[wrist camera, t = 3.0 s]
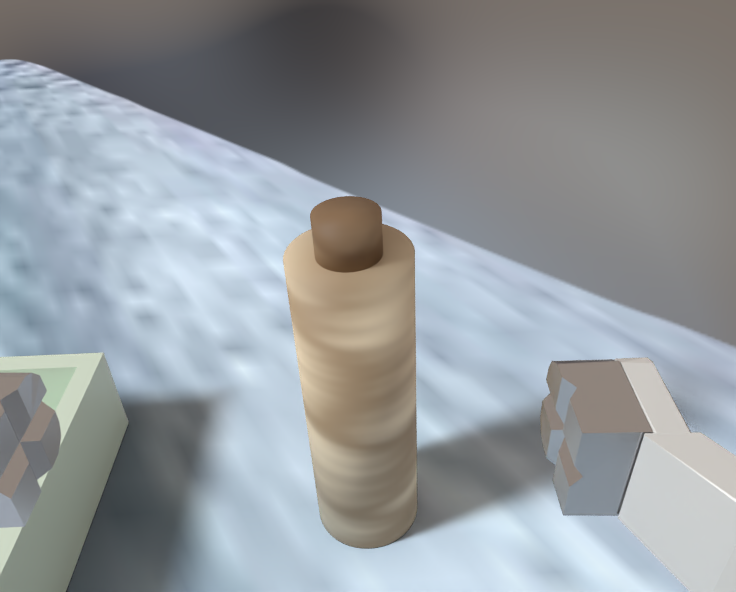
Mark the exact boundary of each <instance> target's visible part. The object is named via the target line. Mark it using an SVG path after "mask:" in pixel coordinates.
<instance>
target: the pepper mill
mask: <svg viewBox="0 0 736 592" xmlns="http://www.w3.org/2000/svg"><path fill="white" fill-rule="evenodd" d="M310 219H311V228H312V229H311V230H308V231H306V232H304V233H303V234H301V235H299V236H298V237H297V238H295V239H294V240H293V241H292V242H291V243H290V244H289V246H288V247H287V249H286V250H285V253H284V256H283V263H284V270H285V277H286V284H287V291H288V298H289V305H290V312H291V318H292V325H293V332H294V339H295V346H296V353H297V360H298V367H299V374H300V381H301V387H302V394H303V401H304V408H305V415H306V422H307V429H308V436H309V443H310V450H311V457H312V463H313V470H314V477H315V484H316V491H317V498H318V505H319V512H320V517H321V520H322V523H323V525H324V527H325V529H326V530H327V531H328V533H330V534H331V535H332V536H333V537H334V538H335V539H336V540H338V541H340V542H341V543H343V544H346V545H348V546H352V547H356V548H368V549H369V548H377V547H382V546H385V545H388V544H390V543H392V542H394V541H396V540H397V539H399V538H400V537H402V536H403V535H404V534H405V533H406V532H407V531H408V530H409V528H410V527H411V526H412V524H413V522H414V520H415V517H416V513H417V431H416V332H415V250H414V246H413V244H412V242H411V240H410V239H409V238H408V237H407V236H406V235H405V234H404V233H402V232H401V231H399V230H397V229H395V228H393V227H390V226H388V225H384V224H382V211H381V208H380V206H379V205H378V204H377V203H375V202H374V201H372V200H369V199H366V198H362V197H354V196H345V197H337V198H332V199H329V200H326V201H324V202H322V203H320V204H318V205H317V206H315V207H314V208H313V210H312V211H311V214H310Z"/></svg>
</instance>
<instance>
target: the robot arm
mask: <svg viewBox="0 0 736 592" xmlns="http://www.w3.org/2000/svg"><path fill="white" fill-rule="evenodd" d="M546 380H547V384H548V387H549V390H550V394H549V395H548V396H547V397H546V398H545V399H544V400H543V401H542V408H541V415H540V422H541V437H542V443H543V448H544V451H545V455H546V458H547V459H548V460H549V461H551V462H552V463H553V464H554V465H555V471H554V476H553V483H554V487H555V490H556V493H557V497H558V500H559V503H560V507H561V510H562V514H563V515H590V516H618V519H619V520H620V521H621V522H622V523H623V524H624V525H625V526H626V527H627V528H628V529H629V530H630V531H631V532H632V533H633V534H634V535H635V536H636V537H637V538H638V539H639V540H640V541H641V542H642V543H643V544H644V545H645V546H646V548H647V549H648V550H649V551H650V552H651V553H652V554H653V555H654V556H655V557H656V558H657V559H658V560H659V561H660V562H661V563H662V564H663V565H664V566H665V567H666V568H667V569H668V570H669V571H670V572H671V573H672V574H673V575H674V576H675V577H676V578H677V579H678V580H679V581H680V582H681V583H682V584H683V585H684V586H685V587H686V588H687V589H688V590H689V591H690V592H736V456H735V455H734V454H732V453H731V452H729V451H728V450H726V449H725V448H723V447H722V446H720V445H719V444H717V443H716V442H714V441H713V440H711V439H710V438H708V437H707V436H705V435H704V434H702V433H691V432H690V430H689V428H688V426H687V424H686V422H685V421H684V419H683V417H682V415H681V413H680V411H679V409H678V408H677V406H676V404H675V402H674V400H673V398H672V396H671V395H670V393H669V391H668V389H667V387H666V385H665V384H664V382H663V380H662V378H661V376H660V374H659V372H658V371H657V369H656V367H655V365H654V363H653V361H651V360H650V359H648V358H623V359H615V360H612V359H609V360H575V361H552V362H551V364H550V366H549V369H548V374H547V379H546ZM46 392H47V390H46V387H45V385H44V383H43V381H42V379H41V377H40V375H37V374H35V373H0V528H8V527H25V525H26V523H27V521H28V519H29V517H30V515H31V513H32V510H33V508H34V506H35V504H36V502H37V500H38V498H39V496H40V493H41V489H40V486H39V484H38V481H37V480H38V479H39V478H40V477H42V476H43V475H44V474H45V473H47V472H48V471H49V470H51V469H52V468H53V465H54V463H55V461H56V458H57V456H58V454H59V447H60V441H61V430H60V423H59V420H58V417H57V414H56V412H55V410H53V409H52V408H51V407H49V406H48V405H46V404H45V403H44V402H42V399H43V397H44V395H45V394H46Z"/></svg>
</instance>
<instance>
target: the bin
mask: <svg viewBox="0 0 736 592" xmlns="http://www.w3.org/2000/svg"><path fill="white" fill-rule="evenodd" d="M0 373H35V374H37V375H40V377H41V379H42V381H43V383H44V385H45V387H46V390H47V392H46V394H45V395H44V397H43V399H42V402H44V403H45V404H46V405H48V406H49V407H51V408H52V409H53V410H55V412H56V414H57V417H58V420H59V423H60V430H61V441H60V447H59V454H58V456H57V458H56V461H55V463H54V465H53V468H52V469H51V470H49V471H48V472H47V473H45V474H44V475H43V476H42V477H40V478H39V479H38V480H37V481H38V484H39V486H40V489H41V493H40V496H39V498H38V500H37V502H36V504H35V506H34V508H33V510H32V513H31V515H30V517H29V519H28V521H27V523H26V525H25V527H8V528H0V592H66V590H67V588H68V585H69V582H70V579H71V577H72V574H73V571H74V569H75V566H76V563H77V561H78V558H79V555H80V553H81V550H82V547H83V544H84V542H85V539H86V536H87V534H88V531H89V528H90V526H91V523H92V520H93V517H94V515H95V512H96V509H97V507H98V504H99V501H100V499H101V496H102V493H103V491H104V488H105V485H106V482H107V480H108V477H109V474H110V472H111V469H112V466H113V464H114V461H115V458H116V455H117V453H118V450H119V447H120V445H121V442H122V439H123V437H124V434H125V431H126V429H127V426H128V423H129V422H128V419H127V416H126V414H125V411H124V408H123V405H122V402H121V400H120V397H119V394H118V391H117V389H116V386H115V383H114V380H113V378H112V375H111V372H110V369H109V367H108V364H107V361H106V358H105V356H104V353H86V354H64V355H41V356H18V357H0Z"/></svg>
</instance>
